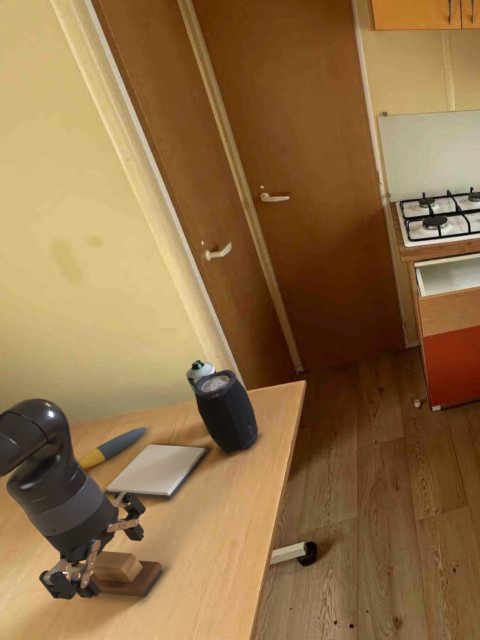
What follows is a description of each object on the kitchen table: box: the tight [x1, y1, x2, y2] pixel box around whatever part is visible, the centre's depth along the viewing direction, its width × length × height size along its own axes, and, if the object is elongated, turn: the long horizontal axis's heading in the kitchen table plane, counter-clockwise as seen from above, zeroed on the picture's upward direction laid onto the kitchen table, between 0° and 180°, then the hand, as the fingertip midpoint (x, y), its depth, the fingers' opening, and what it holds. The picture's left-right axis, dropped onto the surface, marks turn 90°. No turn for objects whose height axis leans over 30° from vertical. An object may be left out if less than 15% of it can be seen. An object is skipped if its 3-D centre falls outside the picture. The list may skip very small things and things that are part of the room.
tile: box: [103, 443, 211, 500], centre depth 95 cm, size 15×12×2 cm
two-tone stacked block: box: [89, 550, 164, 598], centre depth 74 cm, size 4×10×8 cm, turn 86°
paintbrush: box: [78, 426, 147, 470], centre depth 96 cm, size 20×5×5 cm, turn 158°
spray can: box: [185, 359, 217, 395], centre depth 103 cm, size 6×6×20 cm
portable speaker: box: [194, 368, 259, 455], centre depth 98 cm, size 9×9×20 cm
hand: (116, 565), depth 73 cm, fingers open, 8 cm apart
